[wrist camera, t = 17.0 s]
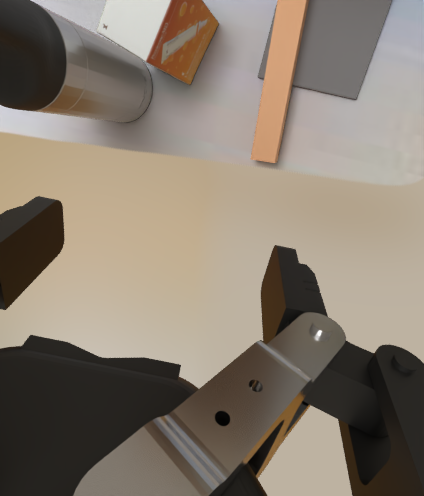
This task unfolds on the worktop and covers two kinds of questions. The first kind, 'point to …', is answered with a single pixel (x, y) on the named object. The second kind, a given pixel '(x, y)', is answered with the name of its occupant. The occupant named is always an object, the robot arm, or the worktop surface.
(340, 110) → the worktop surface
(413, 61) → the worktop surface
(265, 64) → the mat
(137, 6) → the small box
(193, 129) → the worktop surface
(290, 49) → the brown block
